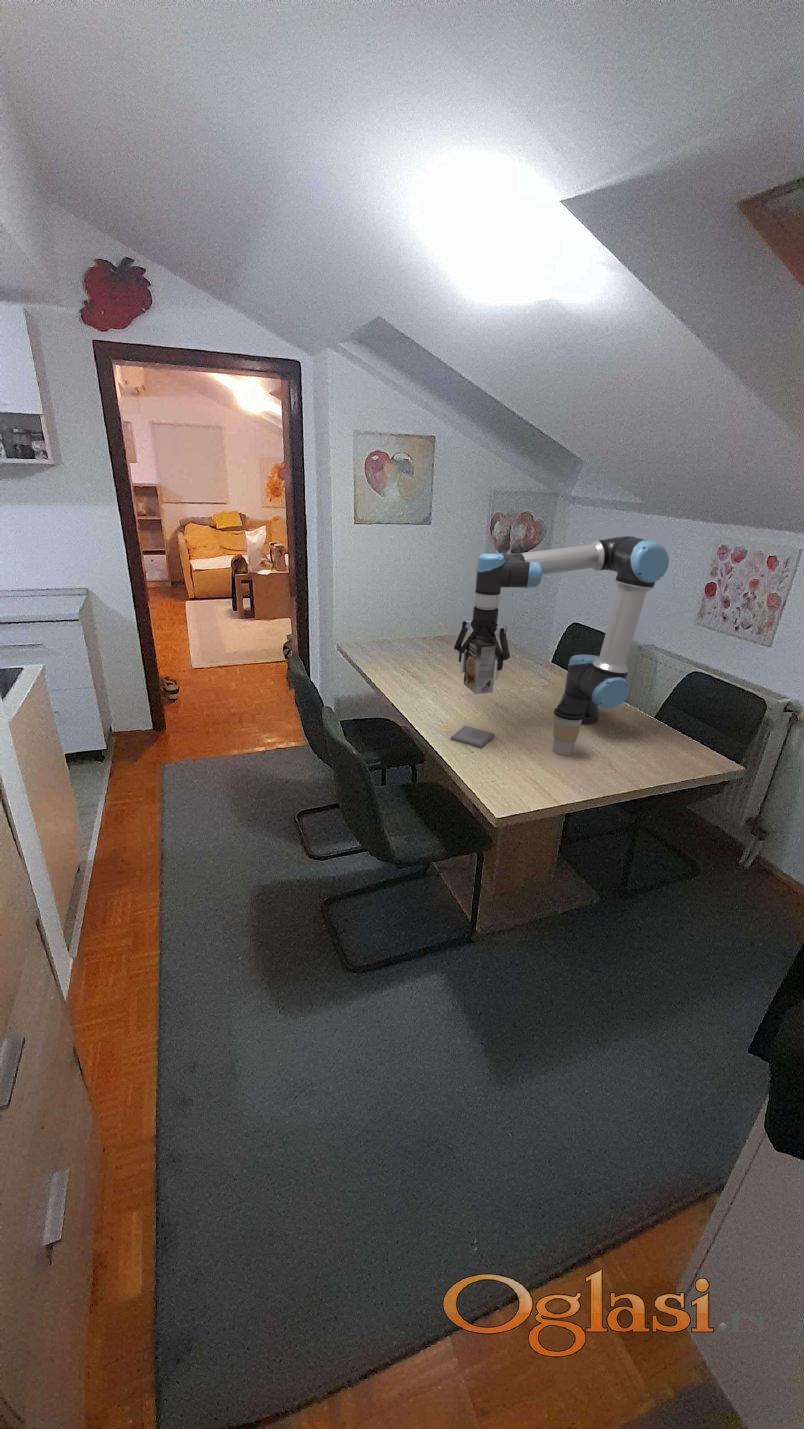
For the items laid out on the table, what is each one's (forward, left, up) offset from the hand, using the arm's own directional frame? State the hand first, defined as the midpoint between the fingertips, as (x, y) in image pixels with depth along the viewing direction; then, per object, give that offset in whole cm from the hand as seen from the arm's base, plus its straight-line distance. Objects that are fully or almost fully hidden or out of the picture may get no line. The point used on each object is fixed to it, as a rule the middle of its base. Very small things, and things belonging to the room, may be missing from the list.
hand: (479, 675), depth 186 cm
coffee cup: (-28, -8, -22) cm, 37 cm away
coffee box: (0, 0, -5) cm, 5 cm away
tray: (0, 0, -22) cm, 22 cm away
